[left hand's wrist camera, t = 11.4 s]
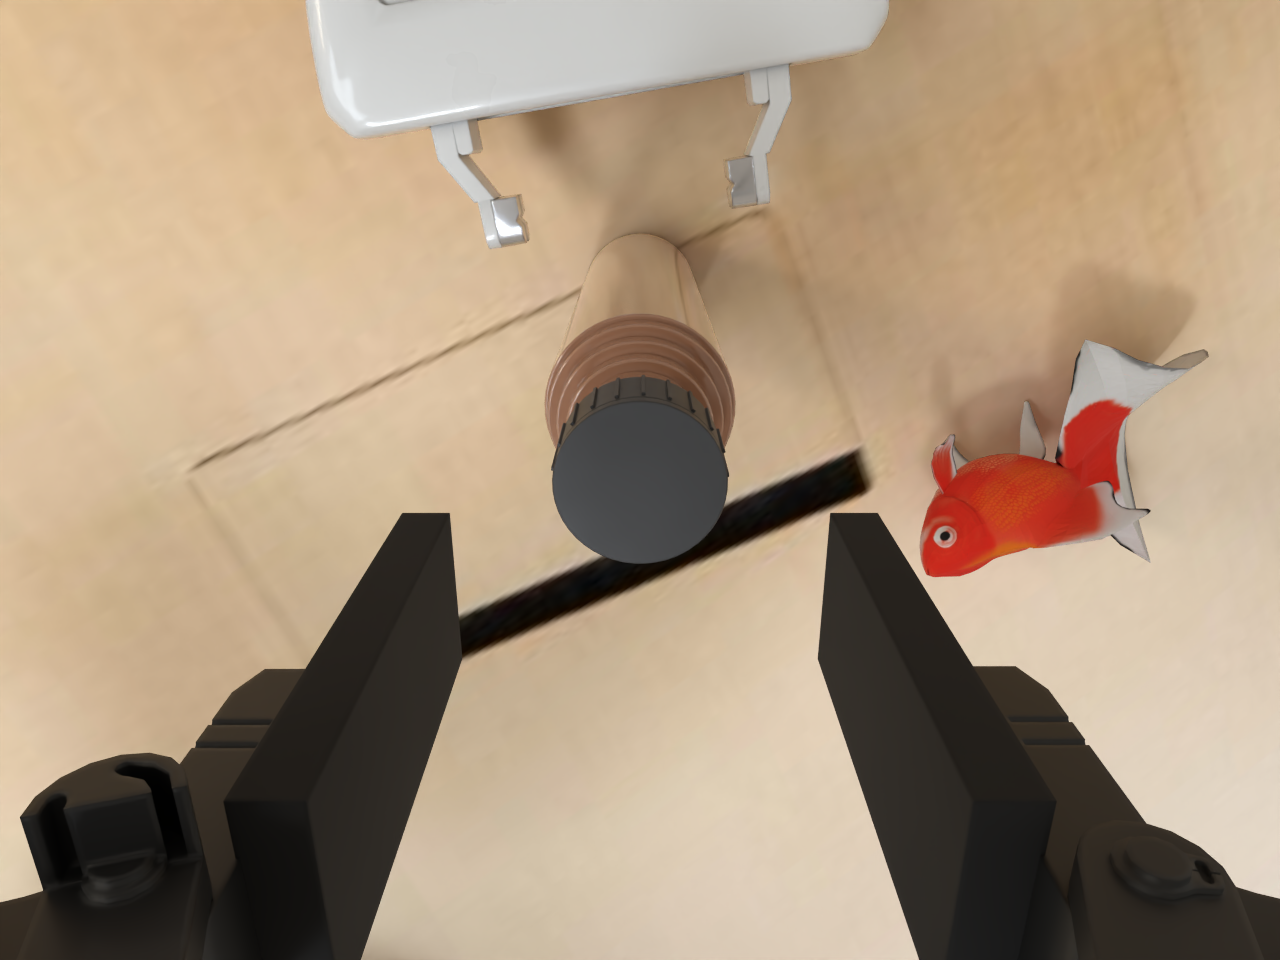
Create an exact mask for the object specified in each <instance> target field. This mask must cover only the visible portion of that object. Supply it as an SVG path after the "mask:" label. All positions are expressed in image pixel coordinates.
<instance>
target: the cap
mask: <svg viewBox="0 0 1280 960" xmlns="http://www.w3.org/2000/svg"><path fill="white" fill-rule="evenodd" d="M724 453H725V449H724V445H723V441H722V437H721V434H720V430H719V428H718V429H716V427H715V424H714V422H713V420H712V418H711V415H710V411H709V409H708V407H707V408H704V406H703V405H702V404H701V403H700V402H699V401H698V400H697V399H696V398H695V397H694V396H693V394H692V392H691V391H690V390H689V391H686V390H685V389H683V388H681V387H679V386H677V385H675V384H673V383H670V380H668V379H667V380H666V381H665V380H661V379H657V378H650V377H645V375H641V377H630V378H623V379H620V377H619V378H616V380H615V381H612V382H610V383H607V384H605V385H603V386H601V387H599V388H597V387H595V388H593V391H592V392H591V393H590V394H589V395H587V396H586V397H585V398H584V399H583V400H582V401H581V402H580V403H579V404H578V403H576V404H575V406H574V410H573V412H572V413H571V415H570V417H569V418H568V420H567V422H566V423H563V425H562V428H561V432H560V436H559V440H558V444H557V448H556V452H555V456H554V460H553V464H552V468H551V470H552V471H553V478H552V485H553V495H554V500H555V504H556V506H557V509H558V512H559V514H560V516H561V518H562V520H563V522H564V523H565V525H566V526H567V528H568V529H569V530H570V532H571V533H572V534H573V535H574V536H575V537H576V538H577V539H578V540H579V541H580V542H581V543H583V544H584V545H585V546H587V547H588V548H590V549H591V550H593V551H594V552H596V553H598V554H600V555H602V556H604V557H607V558H610V559H613V560H617V561H621V562H626V563H654V562H659V561H663V560H667V559H670V558H673V557H675V556H678V555H680V554H682V553H684V552H686V551H688V550H689V549H691V548H692V547H693V546H695V545H696V544H698V543H699V542H700V541H701V540H702V539H703V538H704V537H705V536H706V535H707V534H708V533H709V532H710V530H711V529H712V528H713V526H714V525H715V523H716V522H717V520H718V518H719V516H720V514H721V512H722V510H723V507H724V504H725V500H726V495H727V488H728V477H729V472H728V468H727V464H726V461H725V457H724Z"/></svg>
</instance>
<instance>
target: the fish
mask: <svg viewBox="0 0 1280 960" xmlns="http://www.w3.org/2000/svg"><path fill="white" fill-rule="evenodd" d="M1208 357H1209V356H1208V352H1207V351H1205V350H1204V349H1203V350H1199V351H1195V352H1192V353H1188V354H1184V355H1182V356H1180V357H1178V358H1176V359H1174V360H1172V361H1170V362H1169V363H1167V364H1165V365H1164V366H1158V365H1154V364H1151V363H1147V362H1143V361H1140V360H1137V359H1135V358H1133V357H1131V356H1129V355H1127V354H1125V353H1123V352H1121V351H1119V350H1117V349H1115V348H1112V347H1109V346H1105V345H1102V344H1099V343H1095V342H1092V341H1089V340H1085V342H1084V344H1083V346H1082V348H1081V350H1080V352H1079V354H1078V356H1077V358H1076V362H1075V369H1074V376H1073V382H1072V389H1071V394H1070V397H1069V401H1068V405H1067V408H1066V412H1065V416H1064V420H1063V425H1062V429H1061V434H1060V438H1059V443H1058V447H1057V452H1056V456H1055V459H1056V462H1057V463H1052V462H1049V461H1046V460H1043V459H1044V457H1045V452H1046V448H1045V445H1044V441H1043V439H1042V437H1041V434H1040V432H1039V430H1038V427H1037V425H1036V422H1035V419H1034V416H1033V413H1032V410H1031V407H1030V404H1029V402H1027V401H1025V402H1024V408H1023V414H1022V420H1021V426H1020V452H1019V454H997V455H991V456H987V457H983V458H979V459H975V460H973V461H970V462H968V460H967V459H965V458H964V457H963V456H962V455H961V454H960V453H959V452H958V450H957V449H956V448H955V446H954V441H955V435H949V436H948V438H947V439H946V440H945V442H944V443H943V444H941V445H940V446H938V447H936V449H935V451H934V453H933V459H932V463H931V467H932V472H933V476H934V479H935V481H936V483H937V485H938V487H939V489H938V490H937V491H936V493H935V495H934V497H933V499H932V502H931V504H930V506H929V507H928V510H927V513H926V517H925V521H924V524H923V527H922V532H921V537H920V555H921V561H922V565H923V567H924V570H925V572H926V574H927V575H929V576H932V577H947V576H962V575H965V574H968V573H971V572H973V571H975V570H977V569H979V568H981V567H983V566H984V565H986V564H987V563H988V562H990V561H991V560H993V559H995V558H997V557H1001V556H1004V555H1007V554H1011V553H1015V552H1019V551H1022V550H1026V549H1028V548H1030V547H1031V548H1045V547H1053V546H1060V545H1067V544H1074V543H1081V542H1087V541H1093V540H1099V539H1103V538H1105V537H1107V536H1109V535H1111V536H1112V537H1113V538H1114V539H1115V540H1116V541H1117V542H1118V543H1119V544H1120V545H1121V546H1123V547H1125V548H1126V549H1128V550H1130V551H1132V552H1133V553H1135V554H1137V555H1138V556H1140V557H1142V558H1144V559H1145V560H1147V561H1149V562H1150V559H1149V555H1148V552H1147V548H1146V545H1145V541H1144V538H1143V534H1142V531H1141V528H1140V524H1139V521H1138V520H1139V519H1140V518H1142V517H1144V516H1145V515H1147V514H1148V513H1149V512H1150V510H1149V509H1136V507H1135V502H1134V497H1133V492H1132V488H1131V483H1130V478H1129V473H1128V467H1127V457H1126V447H1125V437H1124V435H1125V424H1126V420H1127V418H1128V415H1129V414H1131V413H1132V412H1133V411H1134V410H1135V409H1137V408H1138V407H1139V406H1140V405H1142V404H1143V403H1144V402H1145V401H1147V400H1148V399H1149V398H1150V397H1152V396H1153V395H1154V394H1155V393H1157V392H1158V391H1160V390H1161V389H1162V388H1164V387H1165V386H1167V385H1168V384H1170V383H1171V382H1173V381H1175V380H1176V379H1178V378H1179V377H1181V376H1182V375H1183V374H1185V373H1186V372H1187V371H1189V370H1190V369H1192V368H1193V367H1195V366H1196V365H1198V364H1199V363H1201V362H1202V361H1203V360H1205V359H1206V358H1208ZM1150 563H1151V562H1150Z"/></svg>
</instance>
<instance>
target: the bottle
mask: <svg viewBox="0 0 1280 960" xmlns="http://www.w3.org/2000/svg"><path fill="white" fill-rule="evenodd" d="M641 375H645V377H650V378H657V379H661V380H665V381H666V380H667V379H668V380H670V383H673V384H675V385H677V386H679V387H681V388H683V389H685V390H686V391H689V390H690V391H691V392H692V394H693V396H694V397H695V398H696V399H697V400H698V401H699V402H700V403H701V404H702V405H703V406H704V408H707V407H708V409H709V411H710V415H711V418H712V420H713V422H714V424H715V427H716V429H718V428H719V430H720V434H721V437H722V441H723V445H724V448H725V446H726V444H727V441H728V439H729V437H730V433H731V430H732V427H733V422H734V417H735V394H734V388H733V383H732V379H731V376H730V374H729V371H728V368H727V365H726V363H725V360H724V357H723V355H722V352H721V349H720V346H719V344H718V341H717V338H716V336H715V333H714V330H713V328H712V325H711V322H710V319H709V317H708V314H707V311H706V309H705V306H704V303H703V300H702V298H701V295H700V292H699V290H698V287H697V284H696V282H695V279H694V276H693V273H692V271H691V268H690V266H689V264H688V262H687V260H686V258H685V257H684V256H683V254H682V253H681V252H680V251H679V250H678V249H677V248H676V247H675V246H674V245H673V244H671V243H670V242H668V241H666V240H665V239H663V238H660V237H658V236H654V235H650V234H630V235H626V236H622V237H620V238H618V239H615V240H614V241H612V242H610V243H609V244H607V245H606V246H605V247H604V248H603V249H602V250H601V251H600V252H599V253H598V254H597V256H596V257H595V258H594V260H593V262H592V264H591V266H590V268H589V271H588V274H587V276H586V279H585V282H584V284H583V287H582V290H581V293H580V295H579V298H578V301H577V303H576V306H575V309H574V312H573V314H572V317H571V320H570V322H569V325H568V328H567V330H566V333H565V336H564V339H563V341H562V344H561V347H560V349H559V352H558V355H557V358H556V360H555V363H554V366H553V368H552V371H551V374H550V377H549V379H548V384H547V388H546V394H545V417H546V422H547V427H548V430H549V433H550V436H551V439H552V441H553V443H554V446H555V448H557V444H558V440H559V436H560V432H561V428H562V425H563V423H566V422H567V420H568V418H569V417H570V415H571V413H572V412H573V410H574V406H575V404H576V403H578V404H579V403H580V402H581V401H582V400H583V399H584V398H585V397H586V396H587V395H589V394H590V393H591V392H592V391H593V388H595V387H597V388H599V387H601V386H603V385H605V384H607V383H610V382H612V381H615V380H616V378H619V377H620V379H623V378H630V377H641Z"/></svg>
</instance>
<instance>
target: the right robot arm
mask: <svg viewBox="0 0 1280 960" xmlns="http://www.w3.org/2000/svg"><path fill="white" fill-rule="evenodd" d="M305 2H306V12H307V19H308V27H309V34H310V41H311V47H312V52H313V58H314V63H315V69H316V74H317V79H318V83H319V88H320V93H321V97H322V101H323V104H324V107H325V110H326V112H327V114H328V116H329V117H330V118H331V119H332V120H333V121H334V122H335V123H336V124H337V125H338V126H339V127H340V128H341V129H343V130H344V131H345V132H346V133H348V134H349V135H350V136H351V137H353V138H356V139H375V138H382V137H388V136H394V135H399V134H405V133H411V132H416V131H422V130H428V129H431V132H432V136H433V140H434V145H435V149H436V153H437V158H438V161H439V162H440V163H441V164H442V165H443V166H444V168H445V169H446V170H447V171H448V172H449V173H450V175H451V176H452V177H453V178H454V179H455V180H456V182H457V183H458V184H459V185H460V186H461V188H462V189H463V190H464V191H465V192H466V193H467V195H468V196H469V197H470V198H471V199H472V200H473V202H474V203H477V202H478V205H479V210H480V214H481V219H482V224H483V228H484V233H485V237H486V242H487V244H488V247H489V248H490V249H495V248H502V247H507V246H512V245H517V244H523V243H527V241H529V229H528V224H527V222H526V221H525V220H524V219H523V218H522V216H523V214H524V212H525V209H524V204H523V199H522V194H517V195H510V196H503V197H500V196H501V195H500V194H499V192H498V191H497V190H496V189H495V187H494V186H493V185H492V184H491V182H490V181H489V180H488V179H487V177H486V176H485V175H484V174H483V172H482V171H481V170H480V169H479V167H478V166H477V165H476V164H475V162H474V161H473V160H472V159H471V157H470V156H469V154H475V153H481V151H482V150H483V147H482V142H481V137H480V132H479V127H478V122H477V121H479V120H485V119H491V118H497V117H502V116H508V115H514V114H520V113H525V112H531V111H537V110H542V109H548V108H554V107H560V106H565V105H571V104H577V103H582V102H588V101H594V100H600V99H605V98H611V97H617V96H623V95H628V94H634V93H640V92H645V91H651V90H657V89H663V88H668V87H674V86H680V85H686V84H691V83H697V82H703V81H708V80H714V79H720V78H726V77H731V76H737V75H743V74H744V82H745V90H746V98H747V104H748V105H750V106H753V105H760V104H763V106H762V108H761V111H760V113H759V116H758V119H757V121H756V124H755V126H754V129H753V131H752V134H751V137H750V139H749V142H748V144H747V147H746V149H745V152H744V155H745V156H740V157H735V158H729V159H724V160H723V161H724V170H725V177H726V178H727V180H728V181H729V182H730V183H729V185H728V188H727V195H728V202H729V206H730V207H731V208H732V209H733V208H740V207H747V206H754V205H759V204H766V203H770V187H769V177H768V167H767V157H766V154H767V153H770V150H771V148H772V146H773V143H774V141H775V138H776V136H777V134H778V131H779V129H780V126H781V124H782V122H783V119H784V117H785V114H786V112H787V110H788V107H789V105H790V102H791V100H792V98H791V86H790V74H789V66H794V65H800V64H806V63H812V62H817V61H823V60H829V59H834V58H840V57H846V56H850V55H854V54H858V53H860V52H862V51H864V50H867V49H868V48H869V47H870V46H871V45H872V44H873V42H874V41H875V39H876V38H877V36H878V34H879V33H880V31H881V29H882V27H883V26H884V24H885V22H886V20H887V16H888V12H889V0H305Z"/></svg>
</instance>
